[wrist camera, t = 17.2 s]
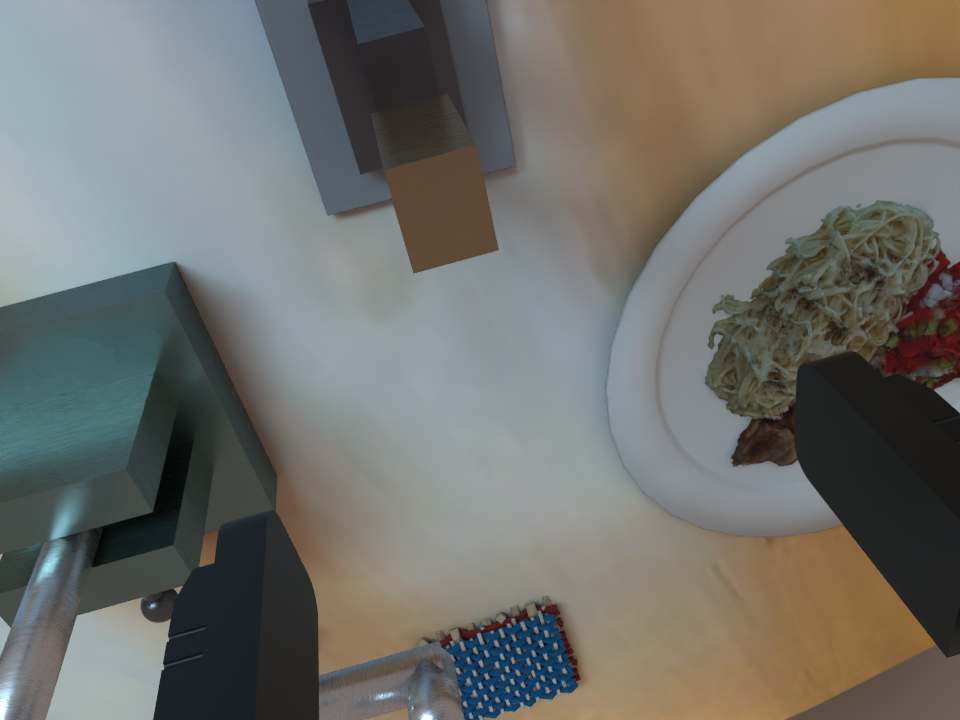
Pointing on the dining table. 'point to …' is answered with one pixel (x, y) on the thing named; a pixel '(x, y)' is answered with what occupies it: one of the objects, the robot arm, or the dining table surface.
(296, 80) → the slate pad
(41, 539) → the vise
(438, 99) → the brown and black post
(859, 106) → the plated food
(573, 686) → the woven mat
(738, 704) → the dining table surface
